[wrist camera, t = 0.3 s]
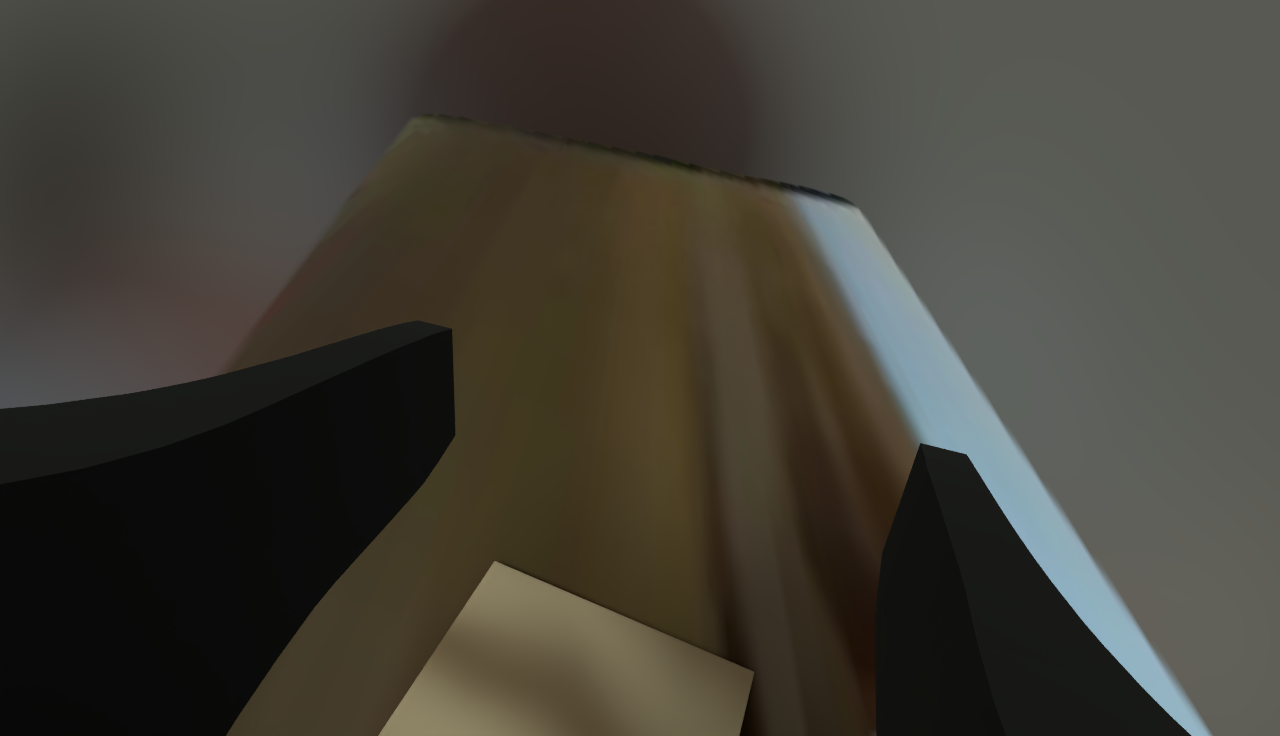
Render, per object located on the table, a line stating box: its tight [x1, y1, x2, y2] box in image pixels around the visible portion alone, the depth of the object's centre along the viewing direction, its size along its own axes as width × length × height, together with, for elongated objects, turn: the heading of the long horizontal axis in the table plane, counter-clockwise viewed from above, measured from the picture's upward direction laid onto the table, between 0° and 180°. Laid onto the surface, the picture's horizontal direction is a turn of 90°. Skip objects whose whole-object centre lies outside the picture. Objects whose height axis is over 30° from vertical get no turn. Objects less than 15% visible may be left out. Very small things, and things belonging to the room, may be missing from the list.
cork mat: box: [379, 561, 754, 736], centre depth 28 cm, size 11×12×1 cm
